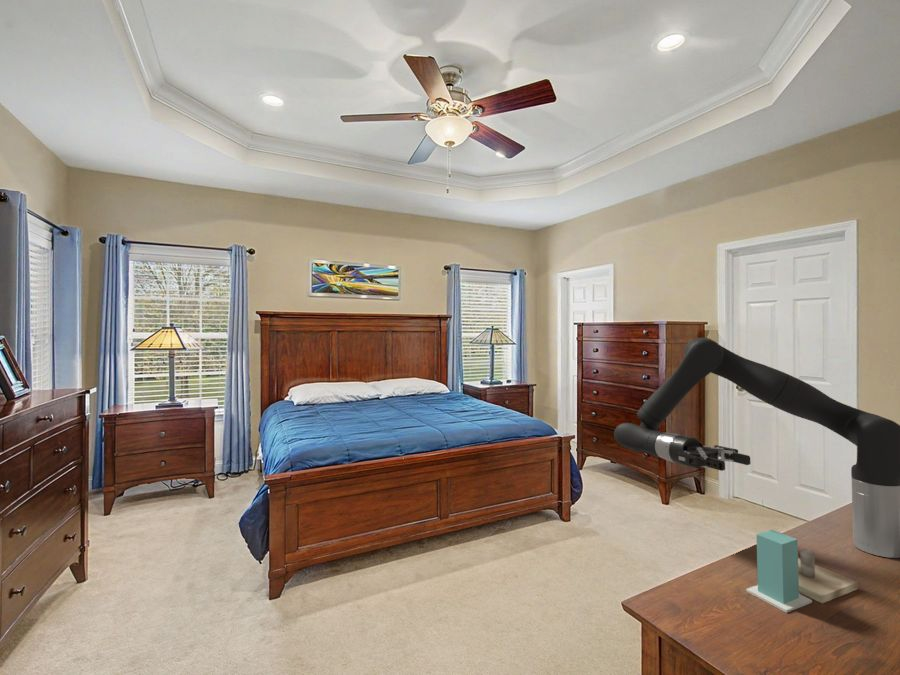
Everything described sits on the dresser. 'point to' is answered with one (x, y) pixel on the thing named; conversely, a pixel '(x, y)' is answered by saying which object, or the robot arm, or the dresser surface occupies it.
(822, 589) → the post stand
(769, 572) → the tall teal pillar
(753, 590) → the mat
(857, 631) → the dresser surface
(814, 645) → the dresser surface
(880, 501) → the robot arm
